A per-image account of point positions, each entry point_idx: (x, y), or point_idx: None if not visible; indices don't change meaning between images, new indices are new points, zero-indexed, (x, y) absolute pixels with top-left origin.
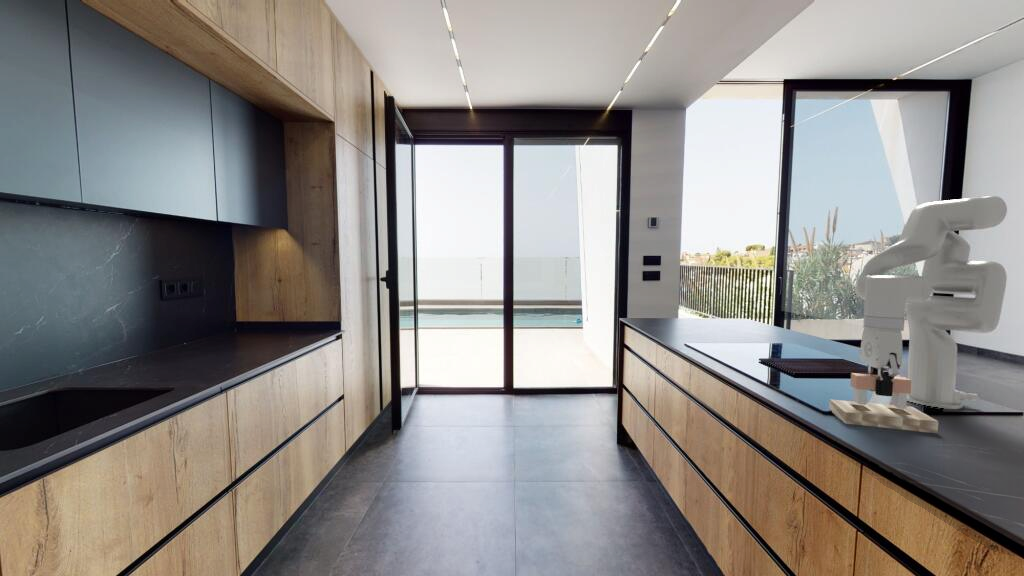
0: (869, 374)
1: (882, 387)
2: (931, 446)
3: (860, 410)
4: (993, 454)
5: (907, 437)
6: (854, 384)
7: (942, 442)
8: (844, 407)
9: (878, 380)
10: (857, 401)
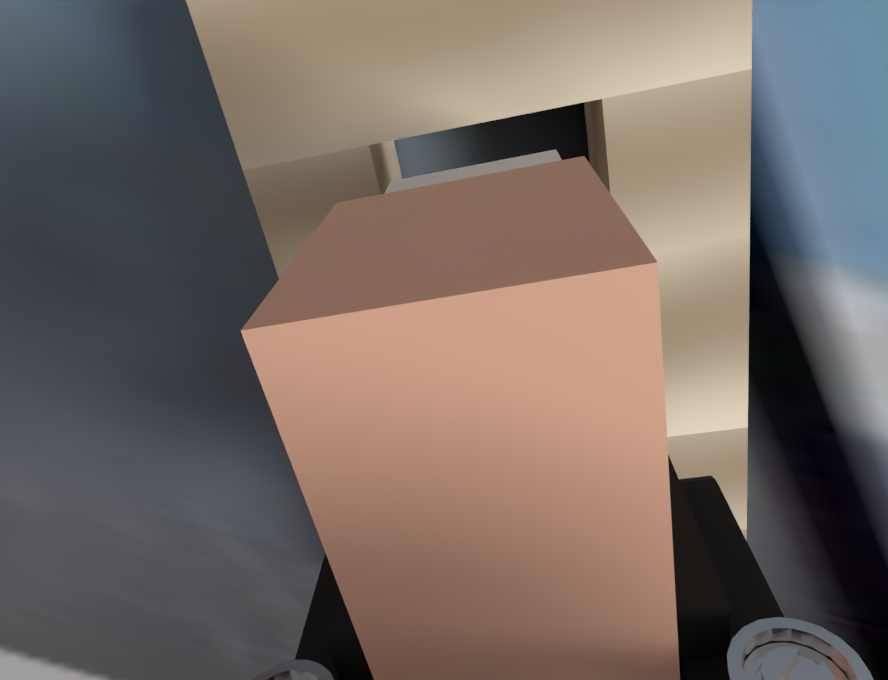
0: (646, 641)
1: (322, 580)
2: (134, 473)
3: (372, 179)
4: (226, 670)
5: (221, 398)
6: (398, 211)
7: (263, 543)
8: (398, 10)
9: (328, 648)
10: (426, 181)
